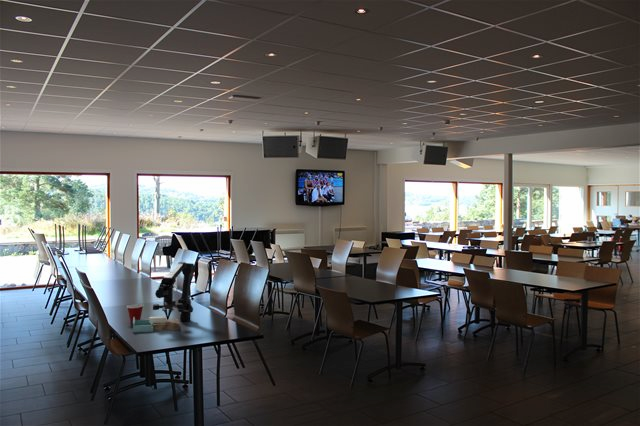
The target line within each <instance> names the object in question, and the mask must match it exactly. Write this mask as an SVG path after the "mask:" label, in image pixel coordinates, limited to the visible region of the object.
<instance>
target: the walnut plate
mask: <svg viewBox="0 0 640 426" xmlns="http://www.w3.org/2000/svg"><path fill="white" fill-rule="evenodd" d="M163 331H164V332H167V331H180V320H179V319H178V318H176V317H175V318H169V319H168V320H167V318H166V322H165V323H153V332H163Z"/></svg>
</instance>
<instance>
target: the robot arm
mask: <svg viewBox="0 0 640 426" xmlns="http://www.w3.org/2000/svg"><path fill="white" fill-rule="evenodd" d="M195 269H196V266H195V264H194V263H190V262H185V261H179V262H178V263H177V265H176V266H175V267H174V268H173V269H172V271H171V272H170V273H167V274H165V275H164V276H163V277H162V278H161V281H160V283H159V286H158V287H157V289H156V291H155V297H156V298H157V299H162V298H163V299H162V300H163V301H162V302H163V304H161V305H160V304H159V303H155V304H153V305H152V310H153V311H158V310H160V309H161V310H162V312H164V314H165V316H166V319H167V320H168V319H170V316H171V314H172V312H174V309H176V308H177V311H178V313H179V312H180V313H179V321H180V322H181V323H182V322H183V323H184V322H191V313H193V311H194V307H193V306H192V304H191V303H192V300H191V299H190V291H191V290H190V289H191V280H192V275H193V274H194V273H195ZM181 272H182V275H183V280H182V289H181V297H180V298H178V299H177V302H176V300H173V299H174V297H173V295H174V289H175V286H174V284H175V283H176V282H177V278H178V277H179V276H180V274H181Z"/></svg>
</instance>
